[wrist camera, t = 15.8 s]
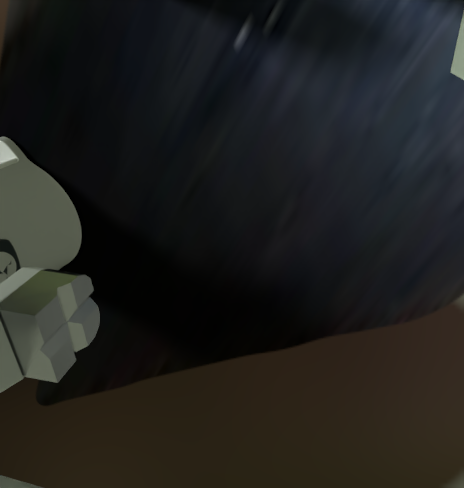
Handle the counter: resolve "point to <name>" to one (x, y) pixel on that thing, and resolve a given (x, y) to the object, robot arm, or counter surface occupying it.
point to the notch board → (459, 54)
